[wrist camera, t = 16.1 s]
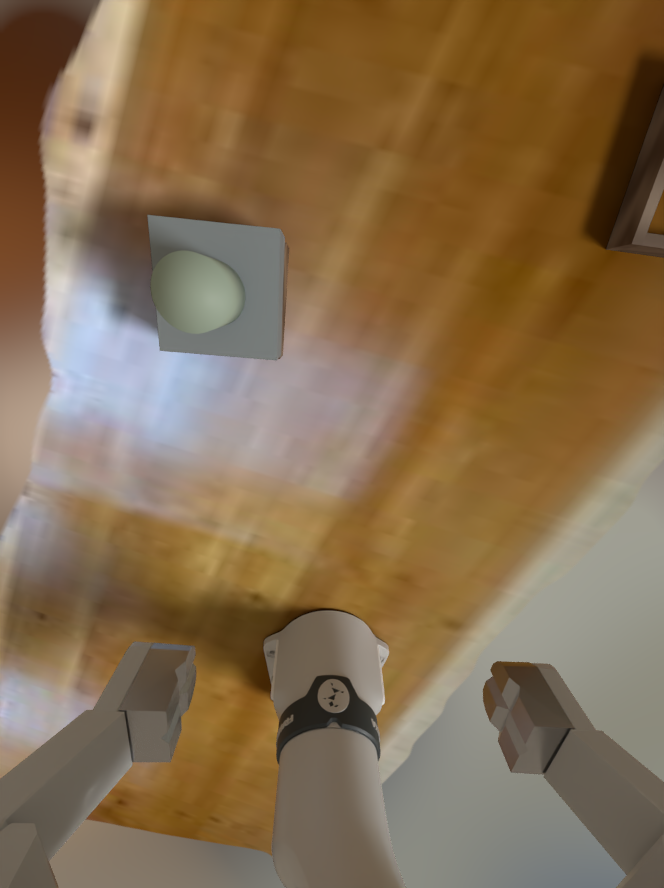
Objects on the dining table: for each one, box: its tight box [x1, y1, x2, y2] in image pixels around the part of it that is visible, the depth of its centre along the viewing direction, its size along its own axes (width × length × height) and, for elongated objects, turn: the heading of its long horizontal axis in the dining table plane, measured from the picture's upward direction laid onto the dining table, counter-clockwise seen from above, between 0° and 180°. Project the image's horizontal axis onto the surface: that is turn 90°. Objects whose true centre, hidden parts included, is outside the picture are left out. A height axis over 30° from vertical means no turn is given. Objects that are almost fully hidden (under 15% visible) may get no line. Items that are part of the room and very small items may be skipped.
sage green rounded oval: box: [150, 250, 245, 334], centre depth 25 cm, size 5×5×6 cm
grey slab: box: [148, 215, 285, 360], centre depth 30 cm, size 10×10×4 cm
